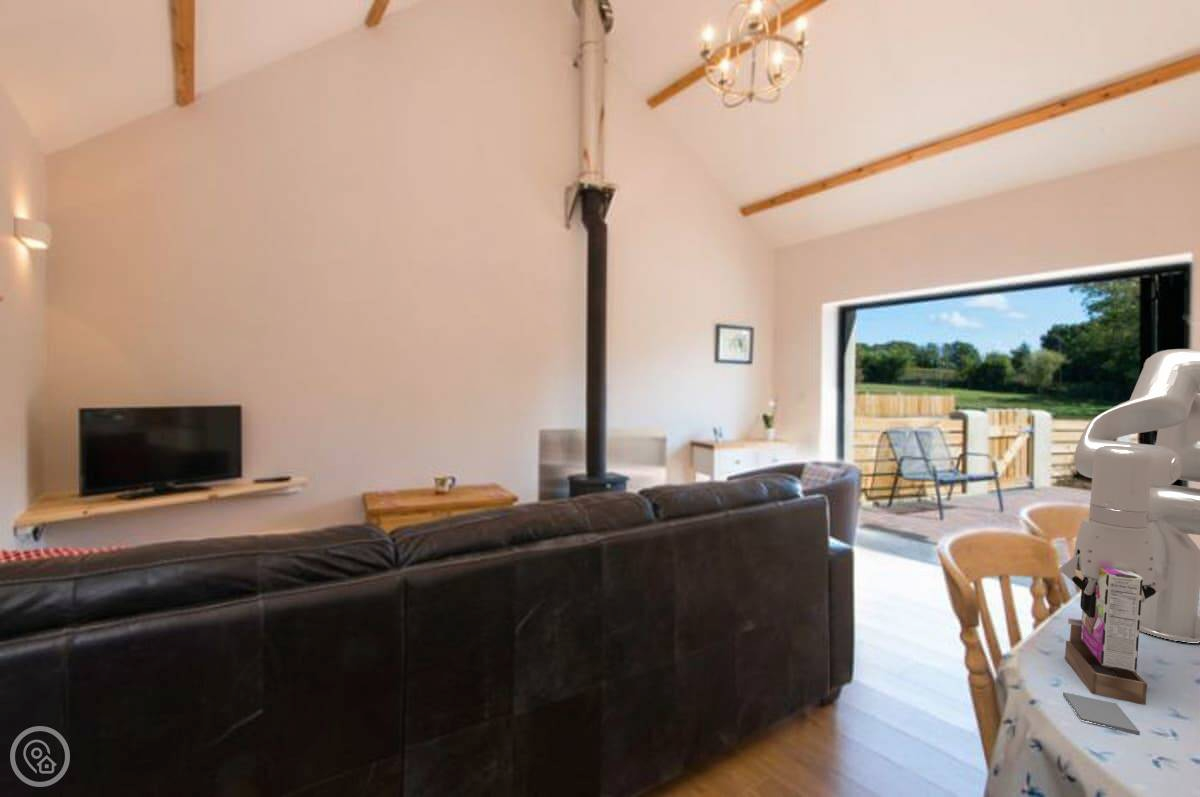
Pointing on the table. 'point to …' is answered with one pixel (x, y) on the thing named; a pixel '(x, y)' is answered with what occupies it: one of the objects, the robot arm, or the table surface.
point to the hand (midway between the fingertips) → (1108, 616)
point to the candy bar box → (1115, 619)
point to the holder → (1118, 687)
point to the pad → (1101, 712)
